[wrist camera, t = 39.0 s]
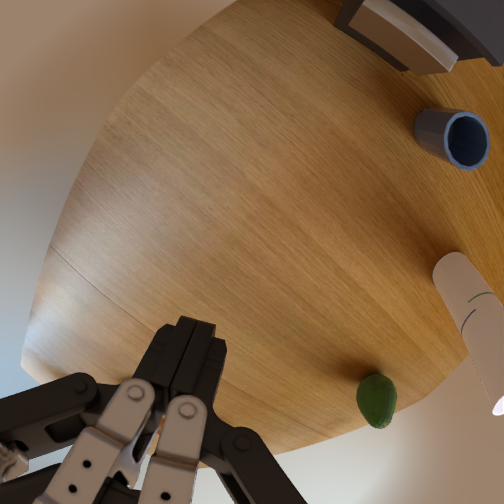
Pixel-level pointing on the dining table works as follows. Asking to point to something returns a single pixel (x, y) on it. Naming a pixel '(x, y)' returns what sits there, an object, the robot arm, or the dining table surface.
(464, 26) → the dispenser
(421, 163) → the dining table surface
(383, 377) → the fruit
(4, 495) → the robot arm
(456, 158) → the cup
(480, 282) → the cylindrical container
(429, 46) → the plate
